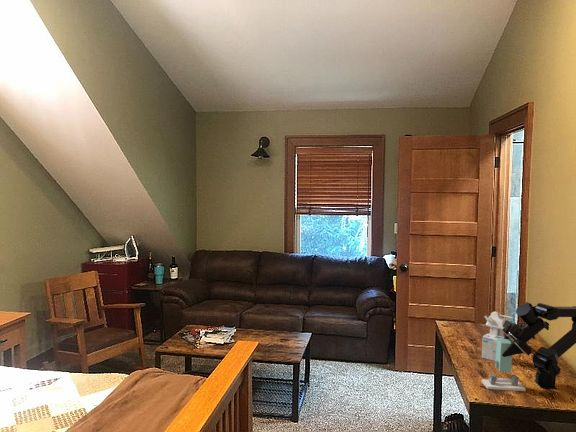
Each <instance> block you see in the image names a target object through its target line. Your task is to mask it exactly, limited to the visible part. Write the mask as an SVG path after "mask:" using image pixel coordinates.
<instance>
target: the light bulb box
mask: <svg viewBox="0 0 576 432" xmlns="http://www.w3.org/2000/svg"><path fill="white" fill-rule="evenodd" d="M497 339H504V337H501V336H496V335H492V334H489V333H486V334H484V335H482V342H481V345H482V346H481V358H482V359H486V360H489V361H492V362H496V348H497Z"/></svg>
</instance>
